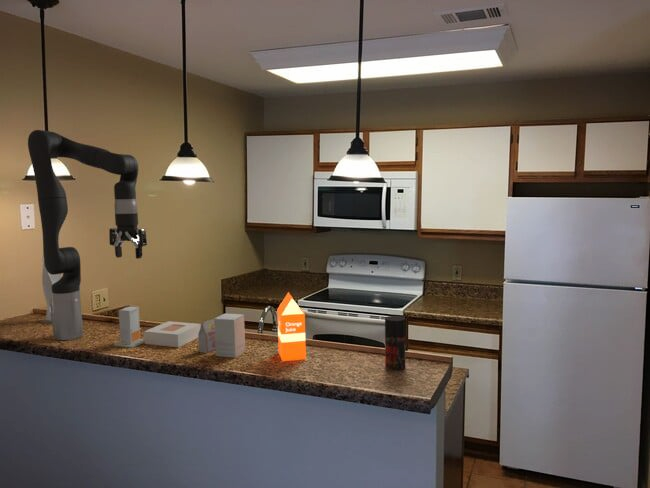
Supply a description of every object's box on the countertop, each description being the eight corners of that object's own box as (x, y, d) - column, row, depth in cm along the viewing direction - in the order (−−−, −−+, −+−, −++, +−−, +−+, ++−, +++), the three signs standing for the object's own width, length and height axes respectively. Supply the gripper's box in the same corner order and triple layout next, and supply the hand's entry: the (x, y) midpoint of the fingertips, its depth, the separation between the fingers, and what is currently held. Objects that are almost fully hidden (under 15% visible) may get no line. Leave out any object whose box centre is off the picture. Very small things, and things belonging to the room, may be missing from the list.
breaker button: (162, 340, 191) (161, 330, 191) (173, 335, 198) (173, 325, 197) (173, 341, 190) (172, 331, 189) (184, 336, 196) (183, 326, 196)
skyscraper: (39, 322, 223) (33, 254, 219) (56, 317, 230) (50, 252, 227) (53, 324, 219) (48, 255, 216) (70, 319, 226) (65, 253, 223)
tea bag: (199, 351, 180) (197, 322, 179) (213, 346, 185) (212, 317, 184) (206, 353, 178) (205, 323, 177) (221, 347, 183) (220, 319, 182)
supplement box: (246, 351, 179) (244, 314, 177) (235, 358, 172) (233, 319, 170) (226, 349, 181) (224, 312, 180) (215, 356, 174) (213, 318, 173)
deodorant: (383, 364, 164) (383, 316, 162) (402, 363, 164) (402, 315, 162) (387, 371, 158) (387, 321, 156) (407, 370, 158) (407, 320, 156)
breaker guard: (144, 343, 190) (143, 331, 189) (169, 333, 203) (168, 321, 202) (178, 347, 185) (177, 334, 184) (201, 336, 198) (200, 324, 197)
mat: (113, 345, 188) (113, 344, 188) (129, 339, 196) (129, 337, 195) (132, 347, 185) (132, 346, 185) (147, 341, 193) (147, 339, 193)
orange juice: (301, 350, 179) (300, 291, 176) (306, 359, 170) (304, 296, 168) (278, 352, 177) (276, 292, 175) (281, 361, 168) (279, 298, 166)
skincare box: (131, 344, 187) (128, 310, 185) (120, 344, 188) (117, 310, 186) (141, 339, 193) (139, 306, 191) (130, 338, 194) (128, 306, 192)
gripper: (102, 212, 188) (105, 258, 190) (135, 212, 183) (138, 260, 185) (117, 211, 195) (120, 255, 197) (149, 211, 190) (152, 257, 192)
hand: (128, 257), depth 191 cm, fingers open, 8 cm apart
